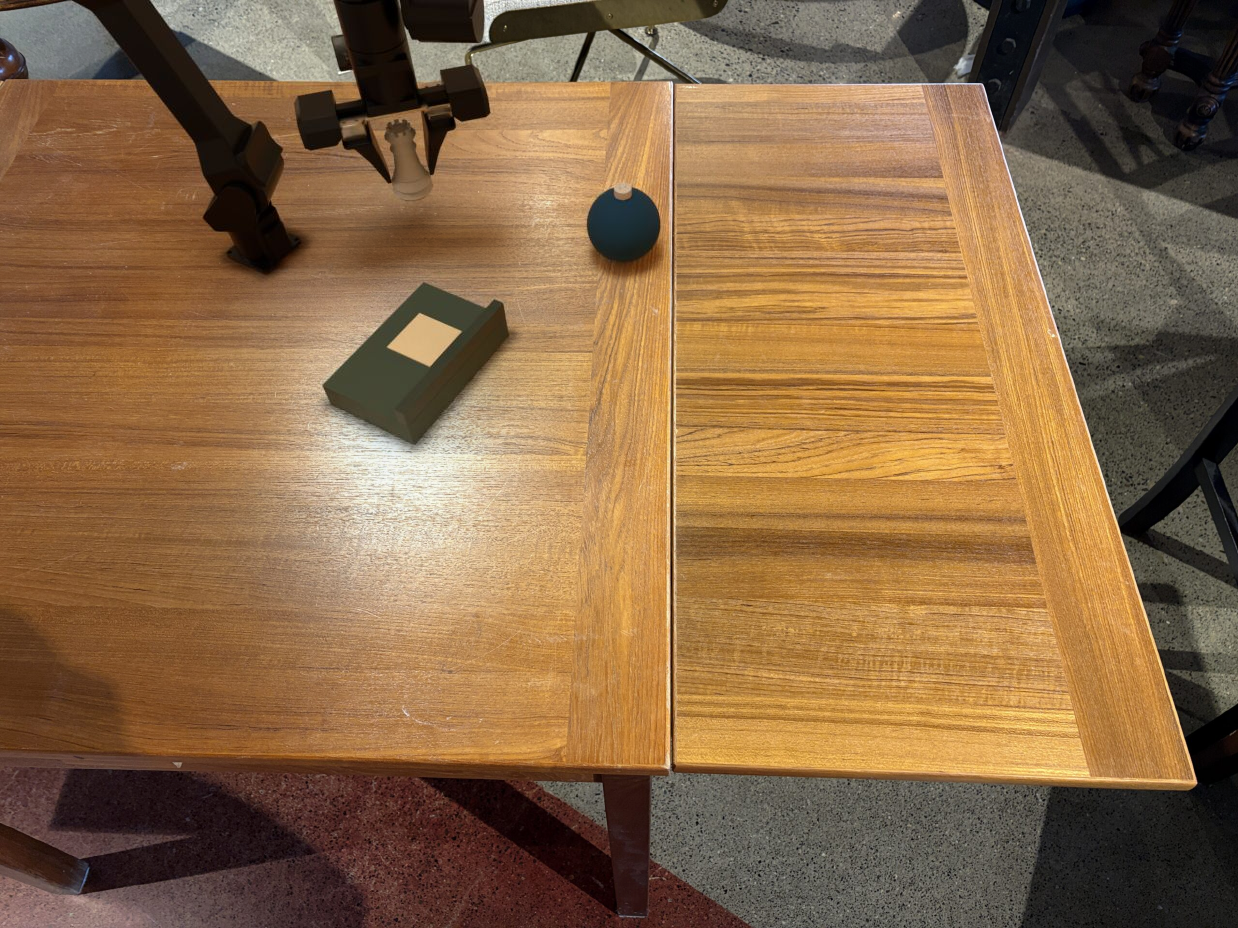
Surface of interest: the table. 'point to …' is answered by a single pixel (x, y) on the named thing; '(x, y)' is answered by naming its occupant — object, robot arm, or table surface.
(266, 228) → the robot arm
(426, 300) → the green platform
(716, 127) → the table surface
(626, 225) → the christmas ornament
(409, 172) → the rook chess piece
